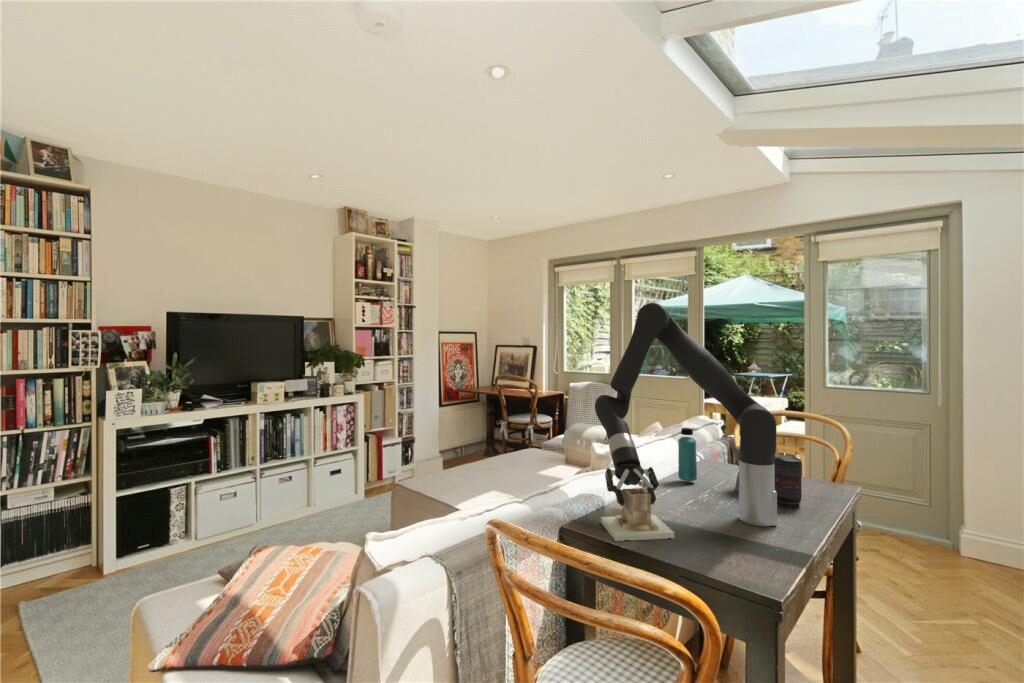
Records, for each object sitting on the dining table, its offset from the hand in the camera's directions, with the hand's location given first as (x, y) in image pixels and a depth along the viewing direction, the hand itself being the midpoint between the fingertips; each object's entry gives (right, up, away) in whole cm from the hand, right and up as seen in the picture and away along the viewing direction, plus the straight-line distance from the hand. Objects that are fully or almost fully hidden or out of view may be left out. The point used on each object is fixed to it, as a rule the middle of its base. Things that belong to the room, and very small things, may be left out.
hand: (637, 503), depth 131 cm
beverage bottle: (+30, -8, +45) cm, 55 cm away
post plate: (0, -8, +1) cm, 8 cm away
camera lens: (+53, -8, +21) cm, 58 cm away
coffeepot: (+48, -8, +36) cm, 61 cm away
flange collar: (0, -6, +1) cm, 6 cm away
